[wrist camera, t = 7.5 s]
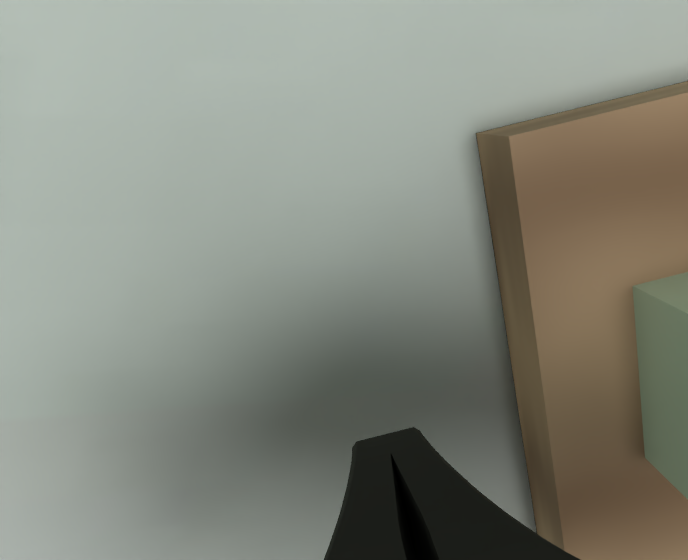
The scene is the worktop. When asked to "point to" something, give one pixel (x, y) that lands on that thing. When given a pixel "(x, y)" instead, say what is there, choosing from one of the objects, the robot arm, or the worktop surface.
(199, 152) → the worktop surface
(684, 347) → the sage tile
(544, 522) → the walnut board
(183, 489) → the worktop surface
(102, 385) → the worktop surface
